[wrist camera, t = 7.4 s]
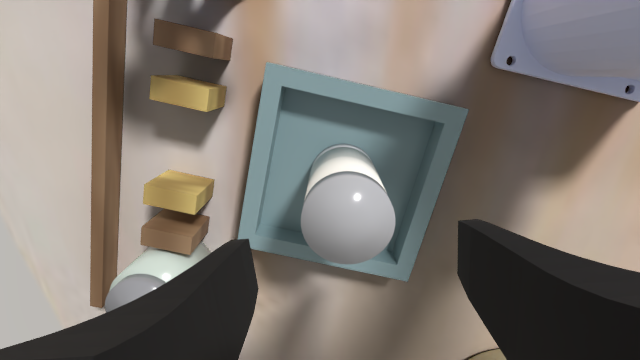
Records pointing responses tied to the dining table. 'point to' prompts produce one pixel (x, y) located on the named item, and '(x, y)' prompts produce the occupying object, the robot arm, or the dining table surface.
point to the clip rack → (107, 114)
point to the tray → (350, 128)
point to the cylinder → (150, 273)
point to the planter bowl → (490, 355)
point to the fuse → (346, 207)
